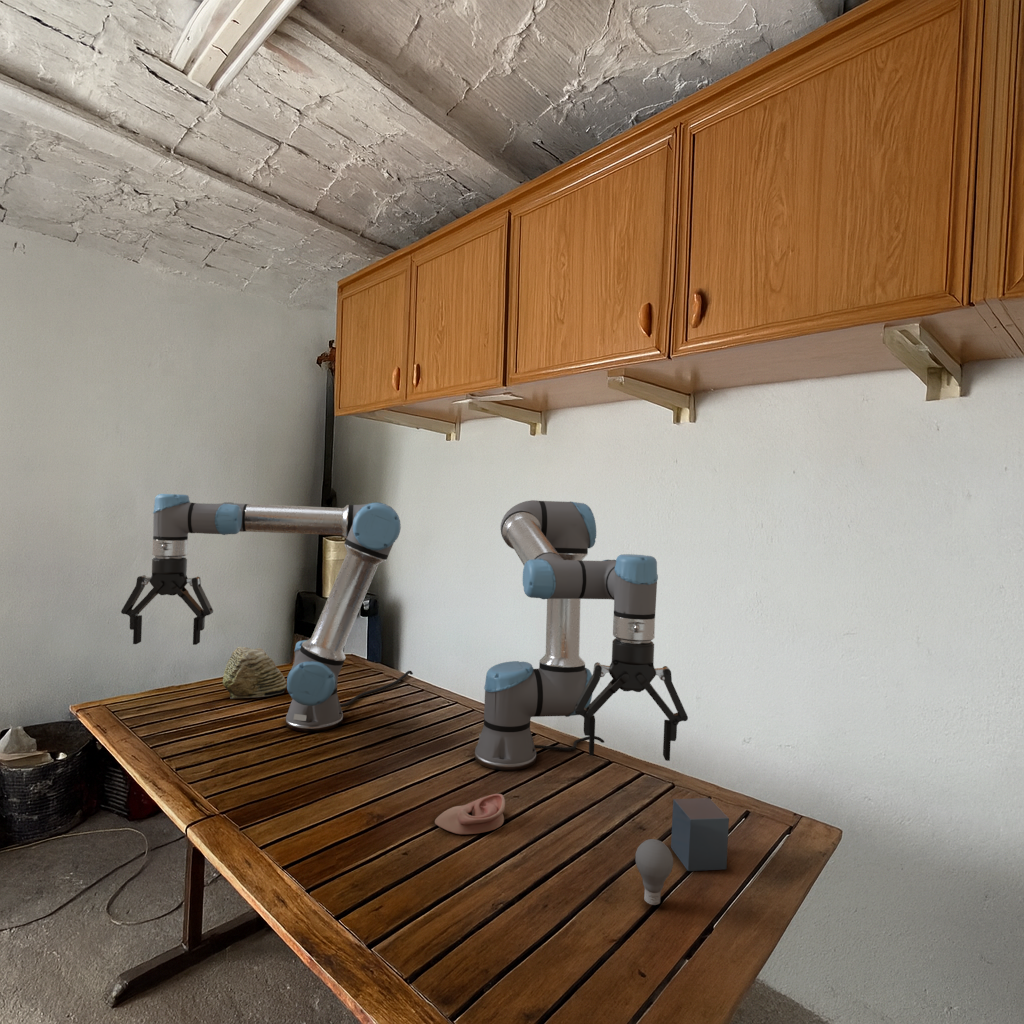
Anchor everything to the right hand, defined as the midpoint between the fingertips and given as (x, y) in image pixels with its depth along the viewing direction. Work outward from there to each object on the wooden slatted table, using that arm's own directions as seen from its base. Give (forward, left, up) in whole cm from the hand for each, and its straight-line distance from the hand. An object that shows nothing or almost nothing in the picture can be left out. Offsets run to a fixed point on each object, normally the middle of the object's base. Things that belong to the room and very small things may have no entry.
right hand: (628, 755), depth 116 cm
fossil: (+30, -127, -19) cm, 132 cm away
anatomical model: (+17, -26, -19) cm, 36 cm away
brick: (-11, +8, -19) cm, 23 cm away
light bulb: (+6, +12, -19) cm, 23 cm away
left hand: (+60, -96, +7) cm, 114 cm away
